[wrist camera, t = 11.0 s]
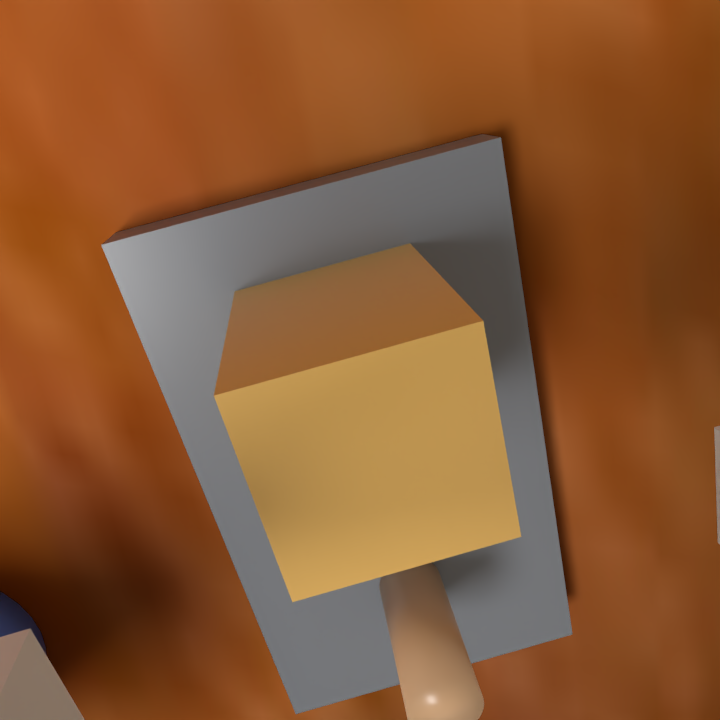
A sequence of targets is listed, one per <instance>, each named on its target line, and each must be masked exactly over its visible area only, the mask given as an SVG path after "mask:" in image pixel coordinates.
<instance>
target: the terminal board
mask: <svg viewBox="0 0 720 720" xmlns="http://www.w3.org/2000/svg"><path fill="white" fill-rule="evenodd" d="M409 243H410V244H411V245H412V246H413V247H414V248H415V249H416V250H417V251H418V252H419V253H420V254H421V255H422V256H423V258H424V259H425V260H426V261H427V262H428V263H429V264H430V265H431V266H432V267H433V268H434V269H435V270H436V271H437V272H438V273H439V274H440V276H441V277H442V278H443V279H444V280H445V281H446V282H447V283H448V284H449V285H450V286H451V287H452V288H453V289H454V290H455V291H456V292H457V293H458V295H459V296H460V297H461V298H462V299H463V300H464V301H465V302H466V303H467V304H468V305H469V306H470V307H471V308H472V309H473V310H474V311H475V313H476V314H477V315H478V316H479V317H480V318H481V319H482V320H483V322H484V328H485V333H486V339H487V345H488V350H489V356H490V362H491V367H492V373H493V379H494V384H495V390H496V396H497V401H498V407H499V413H500V418H501V424H502V430H503V435H504V441H505V447H506V452H507V458H508V464H509V469H510V475H511V481H512V486H513V492H514V498H515V503H516V509H517V515H518V520H519V526H520V532H521V537H519V538H515V539H512V540H508V541H505V542H501V543H498V544H494V545H491V546H487V547H484V548H480V549H477V550H473V551H470V552H466V553H463V554H459V555H456V556H452V557H449V558H445V559H442V560H438V561H435V562H431V563H428V564H424V565H421V566H417V567H414V568H410V569H407V570H403V571H400V572H396V573H393V574H389V575H386V576H382V577H379V578H375V579H372V580H368V581H365V582H361V583H358V584H355V585H351V586H348V587H344V588H341V589H337V590H334V591H330V592H327V593H323V594H320V595H316V596H313V597H309V598H306V599H302V600H299V601H295V602H292V600H291V597H290V594H289V592H288V589H287V587H286V584H285V581H284V579H283V576H282V573H281V571H280V568H279V566H278V563H277V560H276V558H275V555H274V553H273V550H272V547H271V545H270V542H269V539H268V537H267V534H266V532H265V529H264V526H263V524H262V521H261V518H260V516H259V513H258V511H257V508H256V505H255V503H254V500H253V497H252V495H251V492H250V490H249V487H248V484H247V482H246V479H245V476H244V474H243V471H242V469H241V466H240V463H239V461H238V458H237V455H236V453H235V450H234V448H233V445H232V442H231V440H230V437H229V434H228V432H227V429H226V427H225V424H224V421H223V419H222V416H221V414H220V411H219V408H218V406H217V403H216V400H215V398H214V392H215V387H216V382H217V377H218V372H219V367H220V362H221V357H222V352H223V347H224V342H225V337H226V332H227V327H228V322H229V317H230V312H231V307H232V302H233V297H234V292H235V291H238V290H241V289H245V288H249V287H252V286H256V285H260V284H263V283H267V282H270V281H274V280H278V279H281V278H285V277H289V276H292V275H296V274H300V273H303V272H307V271H311V270H314V269H318V268H321V267H325V266H329V265H332V264H336V263H340V262H343V261H347V260H351V259H354V258H358V257H361V256H365V255H369V254H372V253H376V252H380V251H383V250H387V249H391V248H394V247H398V246H402V245H405V244H409ZM102 248H103V250H104V253H105V255H106V257H107V260H108V262H109V265H110V267H111V269H112V272H113V274H114V277H115V279H116V281H117V284H118V286H119V289H120V291H121V294H122V296H123V298H124V301H125V303H126V306H127V308H128V310H129V313H130V315H131V318H132V320H133V322H134V325H135V327H136V330H137V332H138V335H139V337H140V339H141V342H142V344H143V347H144V349H145V351H146V354H147V356H148V359H149V361H150V363H151V366H152V368H153V371H154V373H155V376H156V378H157V380H158V383H159V385H160V388H161V390H162V392H163V395H164V397H165V400H166V402H167V404H168V407H169V409H170V412H171V414H172V416H173V419H174V421H175V424H176V426H177V429H178V431H179V433H180V436H181V438H182V441H183V443H184V445H185V448H186V450H187V453H188V455H189V457H190V460H191V462H192V465H193V467H194V470H195V472H196V474H197V477H198V479H199V482H200V484H201V486H202V489H203V491H204V494H205V496H206V498H207V501H208V503H209V506H210V508H211V511H212V513H213V515H214V518H215V520H216V523H217V525H218V527H219V530H220V532H221V535H222V537H223V539H224V542H225V544H226V547H227V549H228V551H229V554H230V556H231V559H232V561H233V564H234V566H235V568H236V571H237V573H238V576H239V578H240V580H241V583H242V585H243V588H244V590H245V592H246V595H247V597H248V600H249V602H250V605H251V607H252V609H253V612H254V614H255V617H256V619H257V621H258V624H259V626H260V629H261V631H262V633H263V636H264V638H265V641H266V643H267V646H268V648H269V650H270V653H271V655H272V658H273V660H274V662H275V665H276V667H277V670H278V672H279V674H280V677H281V679H282V682H283V684H284V686H285V689H286V691H287V694H288V696H289V699H290V701H291V703H292V706H293V708H294V711H295V713H296V714H298V713H301V712H305V711H308V710H312V709H315V708H319V707H322V706H326V705H329V704H333V703H336V702H340V701H343V700H346V699H350V698H353V697H357V696H360V695H364V694H367V693H371V692H374V691H378V690H381V689H385V688H388V687H392V686H395V685H398V684H400V686H401V691H402V696H403V700H404V705H405V709H406V714H407V719H408V720H478V719H479V717H480V716H481V714H482V711H483V708H484V699H483V696H482V693H481V690H480V688H479V685H478V682H477V679H476V676H475V673H474V670H473V668H472V665H471V663H475V662H478V661H482V660H485V659H489V658H492V657H496V656H499V655H503V654H506V653H509V652H513V651H516V650H520V649H523V648H527V647H530V646H534V645H537V644H541V643H544V642H548V641H551V640H555V639H558V638H562V637H565V636H568V635H572V628H571V621H570V614H569V607H568V600H567V593H566V586H565V579H564V572H563V565H562V558H561V551H560V544H559V537H558V531H557V524H556V517H555V510H554V503H553V496H552V489H551V482H550V475H549V468H548V461H547V454H546V447H545V440H544V433H543V426H542V419H541V412H540V405H539V398H538V391H537V385H536V378H535V371H534V364H533V357H532V350H531V343H530V336H529V329H528V322H527V315H526V308H525V301H524V294H523V287H522V280H521V273H520V266H519V259H518V252H517V246H516V239H515V232H514V225H513V218H512V211H511V204H510V197H509V190H508V183H507V176H506V169H505V162H504V155H503V148H502V141H501V137H497V136H491V135H485V134H480V135H476V136H472V137H469V138H465V139H461V140H458V141H454V142H450V143H446V144H443V145H439V146H435V147H432V148H428V149H424V150H420V151H417V152H413V153H409V154H406V155H402V156H398V157H394V158H391V159H387V160H383V161H380V162H376V163H372V164H368V165H365V166H361V167H357V168H354V169H350V170H346V171H342V172H339V173H335V174H331V175H328V176H324V177H320V178H316V179H313V180H309V181H305V182H302V183H298V184H294V185H290V186H287V187H283V188H279V189H276V190H272V191H268V192H264V193H261V194H257V195H253V196H250V197H246V198H242V199H238V200H235V201H231V202H227V203H224V204H220V205H216V206H212V207H209V208H205V209H201V210H198V211H194V212H190V213H186V214H183V215H179V216H175V217H172V218H168V219H164V220H160V221H157V222H153V223H149V224H146V225H142V226H138V227H134V228H131V229H127V230H123V231H120V232H116V233H115V234H114V235H112V236H111V237H110V238H109V239H108V240H106V241H105V242H104V243H103V244H102Z"/></svg>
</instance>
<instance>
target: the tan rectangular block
mask: <svg viewBox="0 0 720 720" xmlns="http://www.w3.org/2000/svg"><path fill="white" fill-rule="evenodd" d="M214 398H215V400H216V403H217V406H218V408H219V411H220V414H221V416H222V419H223V421H224V424H225V427H226V429H227V432H228V434H229V437H230V440H231V442H232V445H233V448H234V450H235V453H236V455H237V458H238V461H239V463H240V466H241V469H242V471H243V474H244V476H245V479H246V482H247V484H248V487H249V490H250V492H251V495H252V497H253V500H254V503H255V505H256V508H257V511H258V513H259V516H260V518H261V521H262V524H263V526H264V529H265V532H266V534H267V537H268V539H269V542H270V545H271V547H272V550H273V553H274V555H275V558H276V560H277V563H278V566H279V568H280V571H281V573H282V576H283V579H284V581H285V584H286V587H287V589H288V592H289V594H290V597H291V600H292V602H295V601H299V600H302V599H306V598H309V597H313V596H316V595H320V594H323V593H327V592H330V591H334V590H337V589H341V588H344V587H348V586H351V585H355V584H358V583H361V582H365V581H368V580H372V579H375V578H379V577H382V576H386V575H389V574H393V573H396V572H400V571H403V570H407V569H410V568H414V567H417V566H421V565H424V564H428V563H431V562H435V561H438V560H442V559H445V558H449V557H452V556H456V555H459V554H463V553H466V552H470V551H473V550H477V549H480V548H484V547H487V546H491V545H494V544H498V543H501V542H505V541H508V540H512V539H515V538H519V537H521V532H520V526H519V520H518V515H517V509H516V503H515V498H514V492H513V486H512V481H511V475H510V469H509V464H508V458H507V452H506V447H505V441H504V435H503V430H502V424H501V418H500V413H499V407H498V401H497V396H496V390H495V384H494V379H493V373H492V367H491V362H490V356H489V350H488V345H487V339H486V333H485V328H484V322H483V320H482V319H481V318H480V317H479V316H478V315H477V314H476V313H475V311H474V310H473V309H472V308H471V307H470V306H469V305H468V304H467V303H466V302H465V301H464V300H463V299H462V298H461V297H460V296H459V295H458V293H457V292H456V291H455V290H454V289H453V288H452V287H451V286H450V285H449V284H448V283H447V282H446V281H445V280H444V279H443V278H442V277H441V276H440V274H439V273H438V272H437V271H436V270H435V269H434V268H433V267H432V266H431V265H430V264H429V263H428V262H427V261H426V260H425V259H424V258H423V256H422V255H421V254H420V253H419V252H418V251H417V250H416V249H415V248H414V247H413V246H412V245H411V244H410V243H409V244H405V245H402V246H398V247H394V248H391V249H387V250H383V251H380V252H376V253H372V254H369V255H365V256H361V257H358V258H354V259H351V260H347V261H343V262H340V263H336V264H332V265H329V266H325V267H321V268H318V269H314V270H311V271H307V272H303V273H300V274H296V275H292V276H289V277H285V278H281V279H278V280H274V281H270V282H267V283H263V284H260V285H256V286H252V287H249V288H245V289H241V290H238V291H235V292H234V297H233V302H232V307H231V312H230V317H229V322H228V327H227V332H226V337H225V342H224V347H223V352H222V357H221V362H220V367H219V372H218V377H217V382H216V387H215V392H214Z"/></svg>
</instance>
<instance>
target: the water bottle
mask: <svg viewBox="0 0 720 720" xmlns="http://www.w3.org/2000/svg"><path fill="white" fill-rule="evenodd" d="M26 629H31V630H32V632H33V634H34V635H35V637H36V639H37V640H38V642H39V644H40V646H41V647H42V649H43V651H44V652H45V654H46V646H45V643H44V640H43V637H42V634H41V632H40V630H39V628H38V627H37V625H36V624H35V622H34V620H33V619H32V617H31V616H30V615H29V614H28V613H27V612H26V611H25V610H24V609H23V608H22V607H21V606H20V605H19V604H18V603H16V602H15V601H14V600H12V599H11V598H9V597H8V596H6V595H5V594H4V593H2V592H0V637H2V636H6V635H9V634H13V633H16V632H19V631H23V630H26Z"/></svg>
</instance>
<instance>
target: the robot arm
mask: <svg viewBox="0 0 720 720" xmlns="http://www.w3.org/2000/svg"><path fill="white" fill-rule="evenodd" d="M714 433H715V466H716V499H717V532H718V543H719V544H720V426H718V427H714ZM0 720H84V718H83V716H82V714H81V713H80V711H79V709H78V708H77V706H76V704H75V703H74V701H73V699H72V698H71V696H70V694H69V693H68V691H67V689H66V688H65V686H64V684H63V683H62V681H61V679H60V677H59V676H58V674H57V672H56V671H55V669H54V667H53V666H52V664H51V662H50V661H49V659H48V657H47V656H46V654H45V652H44V651H43V649H42V647H41V646H40V644H39V642H38V640H37V639H36V637H35V635H34V634H33V632H32V630H31V629H26V630H23V631H19V632H16V633H13V634H9V635H6V636H2V637H0Z"/></svg>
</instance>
